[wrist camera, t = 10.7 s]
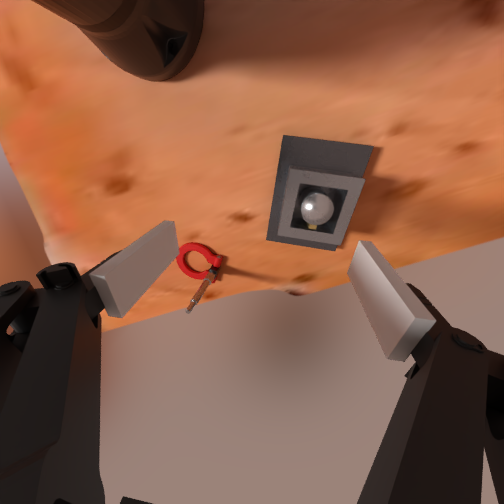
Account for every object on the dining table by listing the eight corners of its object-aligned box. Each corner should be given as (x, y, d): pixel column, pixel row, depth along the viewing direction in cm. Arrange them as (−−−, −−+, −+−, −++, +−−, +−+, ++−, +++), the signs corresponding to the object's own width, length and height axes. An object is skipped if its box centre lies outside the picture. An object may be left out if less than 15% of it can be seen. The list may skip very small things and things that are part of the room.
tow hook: (176, 267, 43) (215, 283, 43) (135, 309, 32) (188, 330, 32) (181, 235, 39) (225, 252, 39) (136, 270, 28) (197, 294, 28)
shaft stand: (283, 135, 28) (282, 133, 22) (369, 146, 27) (394, 146, 21) (266, 236, 36) (263, 255, 30) (333, 247, 35) (343, 269, 29)
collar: (289, 164, 28) (290, 168, 24) (353, 173, 28) (365, 179, 23) (278, 223, 33) (277, 235, 28) (332, 231, 32) (340, 245, 28)
